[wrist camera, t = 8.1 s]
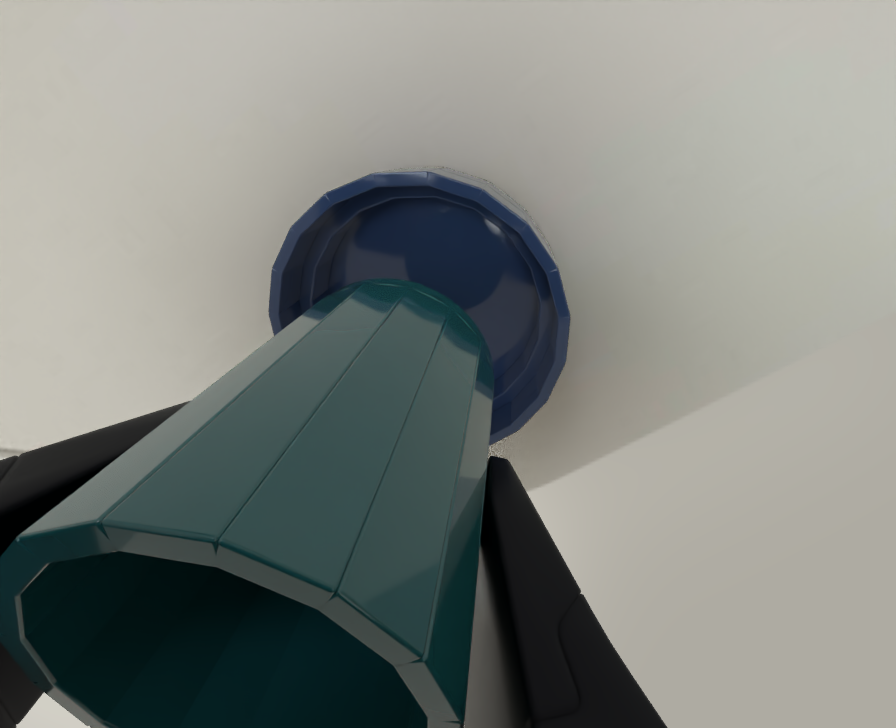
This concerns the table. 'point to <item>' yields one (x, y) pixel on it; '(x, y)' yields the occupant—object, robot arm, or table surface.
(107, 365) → the table surface
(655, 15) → the table surface
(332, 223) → the bowl
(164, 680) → the cup
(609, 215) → the table surface
